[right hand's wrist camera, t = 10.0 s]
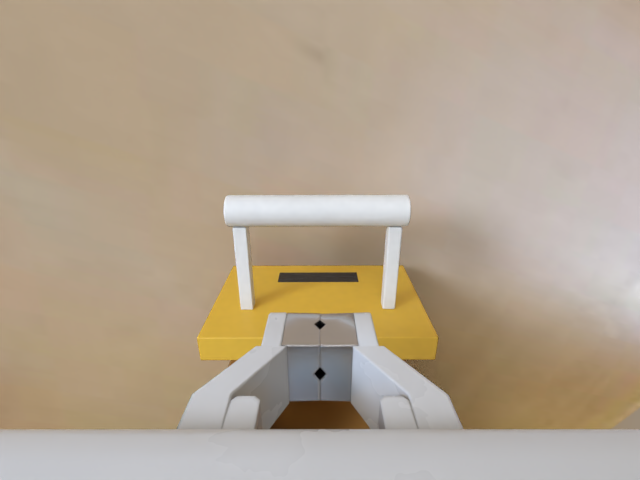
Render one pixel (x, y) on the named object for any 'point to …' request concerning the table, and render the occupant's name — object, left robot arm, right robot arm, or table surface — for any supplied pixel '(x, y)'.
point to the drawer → (317, 290)
